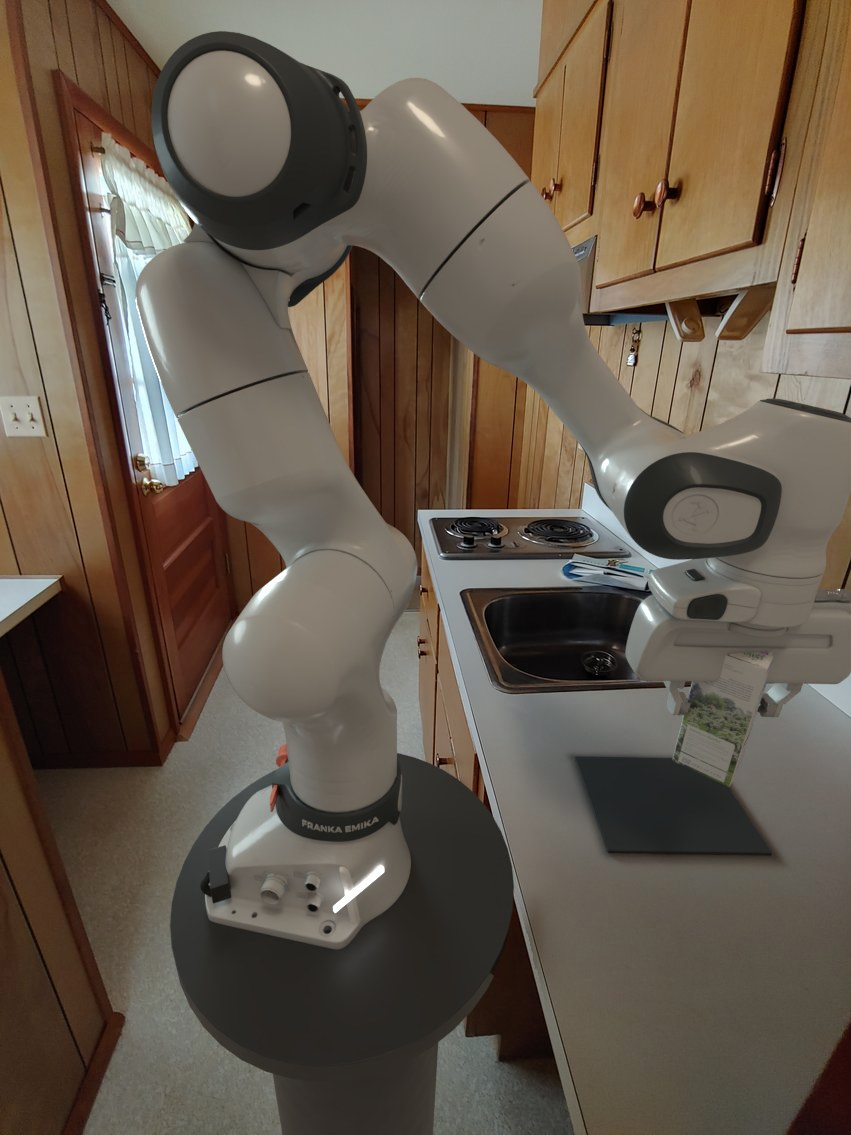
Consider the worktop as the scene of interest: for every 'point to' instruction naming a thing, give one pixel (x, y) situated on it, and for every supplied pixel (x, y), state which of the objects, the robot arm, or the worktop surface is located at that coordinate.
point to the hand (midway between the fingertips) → (720, 712)
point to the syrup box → (723, 717)
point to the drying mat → (665, 809)
